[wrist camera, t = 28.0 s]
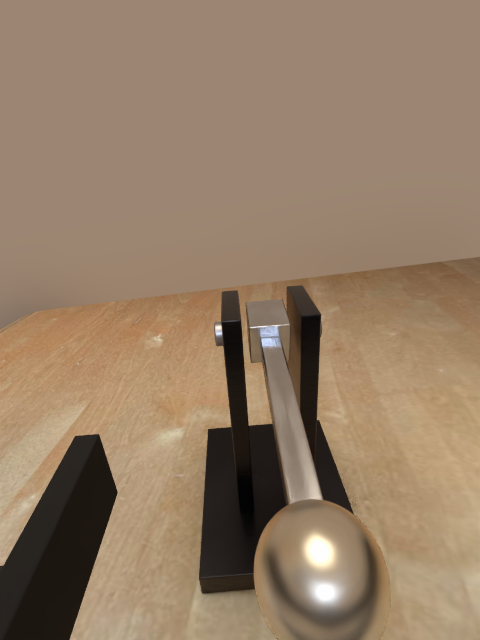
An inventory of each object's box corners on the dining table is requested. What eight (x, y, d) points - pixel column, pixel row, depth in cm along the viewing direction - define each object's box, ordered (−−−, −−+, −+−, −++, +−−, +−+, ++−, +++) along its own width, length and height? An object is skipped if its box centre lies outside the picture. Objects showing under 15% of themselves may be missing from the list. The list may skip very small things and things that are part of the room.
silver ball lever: (401, 680, 9) (436, 631, 7) (262, 692, 9) (258, 647, 7) (292, 339, 22) (294, 289, 20) (237, 343, 21) (233, 293, 20)
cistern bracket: (370, 579, 20) (409, 347, 13) (201, 593, 20) (156, 367, 13) (318, 432, 31) (326, 265, 24) (209, 441, 31) (187, 275, 24)
